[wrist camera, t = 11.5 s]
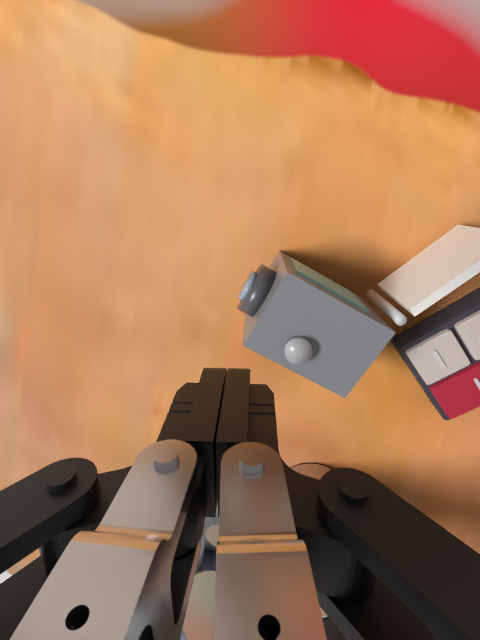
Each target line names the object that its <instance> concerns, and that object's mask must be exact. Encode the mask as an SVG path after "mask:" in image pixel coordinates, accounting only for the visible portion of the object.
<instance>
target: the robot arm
mask: <svg viewBox="0 0 480 640" xmlns="http://www.w3.org/2000/svg"><path fill="white" fill-rule="evenodd" d="M217 500H218V517H219V541H218V542H217V557H216V587H215V616H214V640H480V554H479V553H477V552H476V551H475V550H473V549H472V548H470V547H469V546H468V545H466V544H465V543H463V542H462V541H461V540H459V539H458V538H456V537H455V536H454V535H452V534H451V533H450V532H448V531H447V530H445V529H444V528H443V527H441V526H440V525H438V524H437V523H436V522H434V521H433V520H431V519H430V518H429V517H427V516H426V515H425V514H423V513H422V512H420V511H419V510H418V509H416V508H415V507H413V506H412V505H411V504H409V503H408V502H406V501H405V500H404V499H402V498H401V497H400V496H398V495H397V494H395V493H394V492H393V491H391V490H390V489H388V488H387V487H386V486H384V485H383V484H381V483H380V482H379V481H377V480H376V479H375V478H373V477H371V476H370V475H368V474H366V473H364V472H362V471H359V470H356V469H351V468H336V469H333V470H332V469H330V468H328V467H326V466H323V465H319V464H302V465H297V466H295V467H292V468H290V467H289V466H288V465H286V464H285V462H284V461H283V460H282V458H281V457H280V454H279V450H278V439H277V427H276V415H275V403H274V393H273V392H272V391H271V390H270V388H269V387H268V386H267V385H266V384H250V369H236V368H228V370H227V369H226V368H204V369H203V372H202V375H201V378H200V382H199V383H186V384H185V385H183V386H182V387H181V388H180V389H179V390H178V391H177V392H176V394H175V397H174V399H173V403H172V404H171V407H170V409H169V412H168V414H167V417H166V419H165V422H164V424H163V427H162V429H161V432H160V434H159V437H158V439H157V442H156V443H153V444H151V445H149V446H148V447H146V448H145V449H144V450H142V451H141V453H140V454H139V455H138V457H137V458H136V460H135V462H134V464H133V465H132V466H130V467H127V468H124V469H120V470H115V471H111V472H106V473H101V474H98V473H97V469H96V466H95V465H94V463H92V462H91V461H89V460H87V459H84V458H68V459H64V460H60V461H57V462H54V463H52V464H50V465H48V466H46V467H44V468H42V469H41V470H39V471H37V472H35V473H33V474H31V475H29V476H28V477H26V478H24V479H22V480H20V481H18V482H16V483H14V484H13V485H11V486H9V487H7V488H5V489H3V490H1V491H0V574H1V573H3V572H4V571H6V570H7V569H9V568H10V567H12V566H13V565H14V564H16V563H17V562H19V561H20V560H22V559H23V558H25V557H26V556H28V555H29V554H31V553H32V552H33V551H35V550H36V549H38V548H39V551H40V554H41V556H40V557H38V558H37V559H35V560H34V561H33V562H31V563H30V564H28V565H27V566H25V567H24V568H23V569H21V570H20V571H18V572H17V573H15V574H14V575H13V576H11V577H10V578H8V579H7V580H6V581H4V582H3V583H1V584H0V640H180V636H181V631H182V627H183V623H184V619H185V614H186V610H187V606H188V602H189V597H190V593H191V589H192V584H193V580H194V576H195V572H196V567H197V563H198V559H199V555H200V550H201V537H202V533H203V528H204V521H205V517H215V515H216V508H217Z"/></svg>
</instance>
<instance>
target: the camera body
mask: <svg viewBox="0 0 480 640" xmlns="http://www.w3.org/2000/svg"><path fill="white" fill-rule="evenodd" d="M367 296H368V297H369V298H370V299H371V300H372V301H373V302H374V303H375V304H376V305H377V306H378V307H379V308H380V309H381V310H382V311H383V312H384V313H385V314H387V315H388V316H389V317H390V318H391V319H392V320H393V321H394V322H395V323H396V324H397V325H399V326H402V325H404V324H405V323H406V322H407V318H406V317H405V316H404V315H403V314H402V313H401V312H400V311H398V310H397V309H396V308H395V307H394V306H392V305H391V304H390V303H389V302H388V301H387V300H385V299H384V298H383V297H382V296H381V295H379V294H378V293H377V292H376V291H375V290H373V289H370V290H368V291H367ZM238 298H239V299H240V303H239V305H238V310H240V311H242V312H244V313H246V318H245V329H244V340H243V346H245V347H247V348H249V349H251V350H253V351H255V352H257V353H259V354H261V355H263V356H265V357H267V358H268V359H270V360H272V361H274V362H276V363H278V364H280V365H282V366H284V367H286V368H288V369H290V370H292V371H294V372H296V373H298V374H299V375H301V376H303V377H305V378H307V379H309V380H311V381H313V382H315V383H317V384H319V385H321V386H323V387H325V388H327V389H329V390H330V391H332V392H334V393H336V394H338V395H340V396H342V397H344V398H345V397H346V396H347V395H348V394H349V392H350V391H351V390H352V388H353V387H354V386H355V385H356V383H357V382H358V381H359V379H360V378H361V377H362V376H363V374H364V373H365V372H366V370H367V369H368V368H369V367H370V365H371V364H372V363H373V361H374V360H375V359H376V358H377V356H378V355H379V354H380V352H381V351H382V350H383V349H384V347H385V346H386V345H387V343H388V342H389V341H390V340H391V338H392V337H393V336H394V334H395V333H396V332H395V331H394V330H393V329H392V328H391V327H390V326H389V325H388V324H387V323H386V322H385V321H384V320H383V319H382V318H381V317H380V316H379V315H378V314H377V313H376V312H375V311H374V310H373V309H372V308H371V307H370V306H369V305H368V304H367V302H366V301H365V300H364V299H363V298H362V297H361V296H359V295H357V294H355V293H354V292H352V291H350V290H348V289H346V288H345V287H343V286H341V285H339V284H338V283H336V282H334V281H332V280H331V279H329V278H327V277H325V276H323V275H322V274H320V273H318V272H316V271H315V270H313V269H311V268H309V267H308V266H306V265H304V264H302V263H300V262H299V261H297V260H295V259H293V258H292V257H290V256H288V255H286V254H285V253H283V252H281V251H279V252H278V254H277V256H276V257H275V259H274V261H273V263H272V264H271V266H270V268H268V267H266V266H264V265H261V266H260V267H259V268H258V269H257V271H256V272H254V271H252V272H251V274H250V275H249V277H248V278H247V280H246V282H245V284H244V285H243V287H242V289H241V291H240V294H239V296H238Z"/></svg>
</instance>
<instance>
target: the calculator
mask: <svg viewBox="0 0 480 640" xmlns="http://www.w3.org/2000/svg"><path fill="white" fill-rule="evenodd" d="M392 343H393V345H394V346H395V348H396V349H397V351H398V352H399V354H400V355H401V357H402V358H403V360H404V361H405V363H406V365H407V366H408V368H409V369H410V371H411V372H412V374H413V375H414V377H415V378H416V380H417V381H418V383H419V384H420V386H421V387H422V389H423V390H424V392H425V393H426V395H427V396H428V398H429V399H430V401H431V402H432V404H433V405H434V407H435V408H436V409H437V411H438V412H439V414H440V415H441V416H442V418H443V419H444V420H449V419H453V418H455V417H457V416H460V415H462V414H464V413H466V412H468V411H470V410H473V409H475V408H477V407H479V406H480V288H478V289H477V290H475V291H473V292H471V293H470V294H468V295H466V296H464V297H462V298H461V299H459V300H457V301H455V302H454V303H452V304H450V305H448V306H446V307H445V308H443V309H441V310H439V311H438V312H436V313H434V314H433V315H431V316H429V317H427V318H426V319H424V320H422V321H421V322H419V323H417V324H416V325H414V326H412V327H411V328H409V329H407V330H406V331H404V332H402V333H401V334H399V335H397V336H396V337H394V338H393V339H392Z"/></svg>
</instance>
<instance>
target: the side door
mask: <svg viewBox="0 0 480 640" xmlns="http://www.w3.org/2000/svg"><path fill="white" fill-rule="evenodd" d="M479 272H480V228H476V227H470V226H464V225H457V226H456V227H454V228H453V229H452V230H450V231H449V232H447V233H446V234H445V235H443V236H442V237H441V238H439V239H438V240H437V241H435V242H434V243H433V244H431V245H430V246H428V247H427V248H426V249H424V250H423V251H422V252H420V253H419V254H418V255H416V256H415V257H414V258H412V259H411V260H409V261H408V262H407V263H405V264H404V265H403V266H401V267H400V268H399V269H397V270H396V271H395V272H393V273H392V274H390V275H389V276H388V277H386V278H385V279H384V280H382V281H381V282H380V283H378V284H377V285H378V286H379V287H380V289H381V290H382V291H383V292H385V293H386V294H387V295H388V296H390V297H391V298H392V299H393V300H395V301H396V302H397V303H398V304H400V305H401V306H402V307H403V308H405V309H406V310H407V311H408V312H410V313H411V314H412V315H413V316H417V315H418V314H419V313H421V312H422V311H424V310H425V309H427V308H428V307H430V306H431V305H433V304H434V303H436V302H437V301H438V300H440V299H441V298H443V297H444V296H446V295H447V294H449V293H450V292H452V291H453V290H454V289H456V288H457V287H459V286H460V285H462V284H463V283H465V282H466V281H468V280H469V279H471V278H472V277H473V276H475V275H476V274H478V273H479Z"/></svg>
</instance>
